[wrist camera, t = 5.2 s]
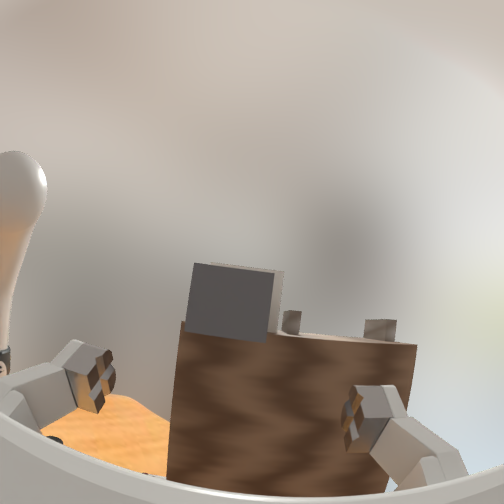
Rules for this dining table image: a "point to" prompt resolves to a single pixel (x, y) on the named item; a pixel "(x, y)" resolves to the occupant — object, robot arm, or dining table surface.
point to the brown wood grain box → (279, 410)
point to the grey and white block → (234, 301)
